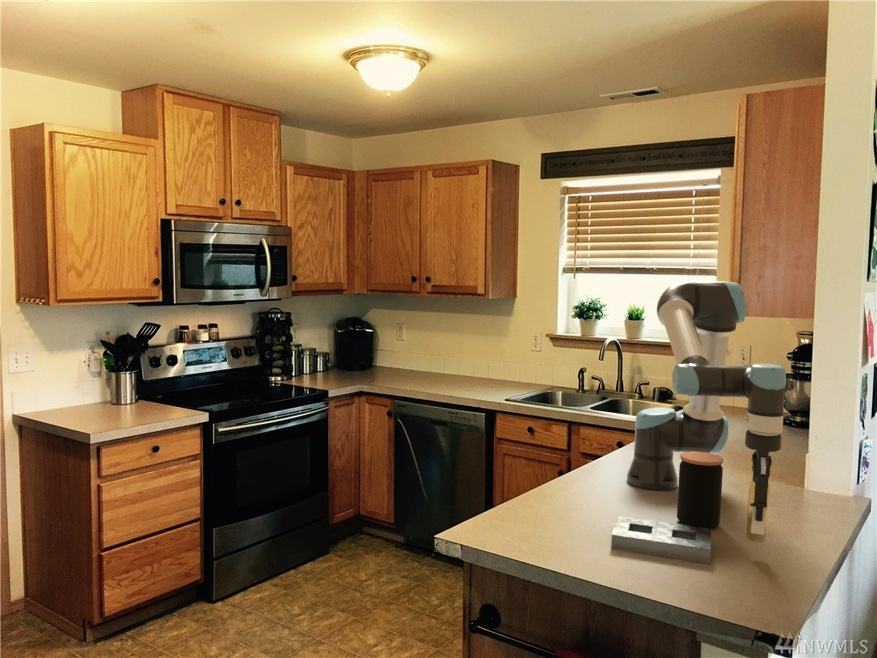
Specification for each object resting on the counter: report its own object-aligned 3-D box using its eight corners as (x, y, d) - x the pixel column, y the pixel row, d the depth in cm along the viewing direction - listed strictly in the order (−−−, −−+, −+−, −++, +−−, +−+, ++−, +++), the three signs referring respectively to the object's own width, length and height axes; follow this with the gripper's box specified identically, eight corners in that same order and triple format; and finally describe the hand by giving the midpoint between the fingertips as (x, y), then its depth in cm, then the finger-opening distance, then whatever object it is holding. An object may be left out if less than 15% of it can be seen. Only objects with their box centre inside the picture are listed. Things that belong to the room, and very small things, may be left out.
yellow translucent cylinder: (745, 533, 170) (749, 480, 169) (765, 536, 169) (769, 482, 168) (746, 540, 166) (750, 485, 165) (767, 543, 165) (771, 488, 163)
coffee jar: (709, 516, 194) (713, 451, 193) (726, 531, 184) (730, 462, 182) (670, 516, 194) (674, 451, 192) (685, 530, 183) (689, 461, 182)
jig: (618, 529, 183) (618, 515, 183) (710, 542, 176) (710, 528, 175) (611, 548, 170) (611, 534, 170) (710, 564, 163) (710, 549, 162)
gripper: (744, 421, 174) (738, 514, 177) (747, 438, 158) (740, 540, 161) (778, 425, 172) (771, 519, 174) (785, 442, 155) (777, 546, 158)
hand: (756, 529), depth 167 cm, fingers closed on yellow translucent cylinder, 4 cm apart
